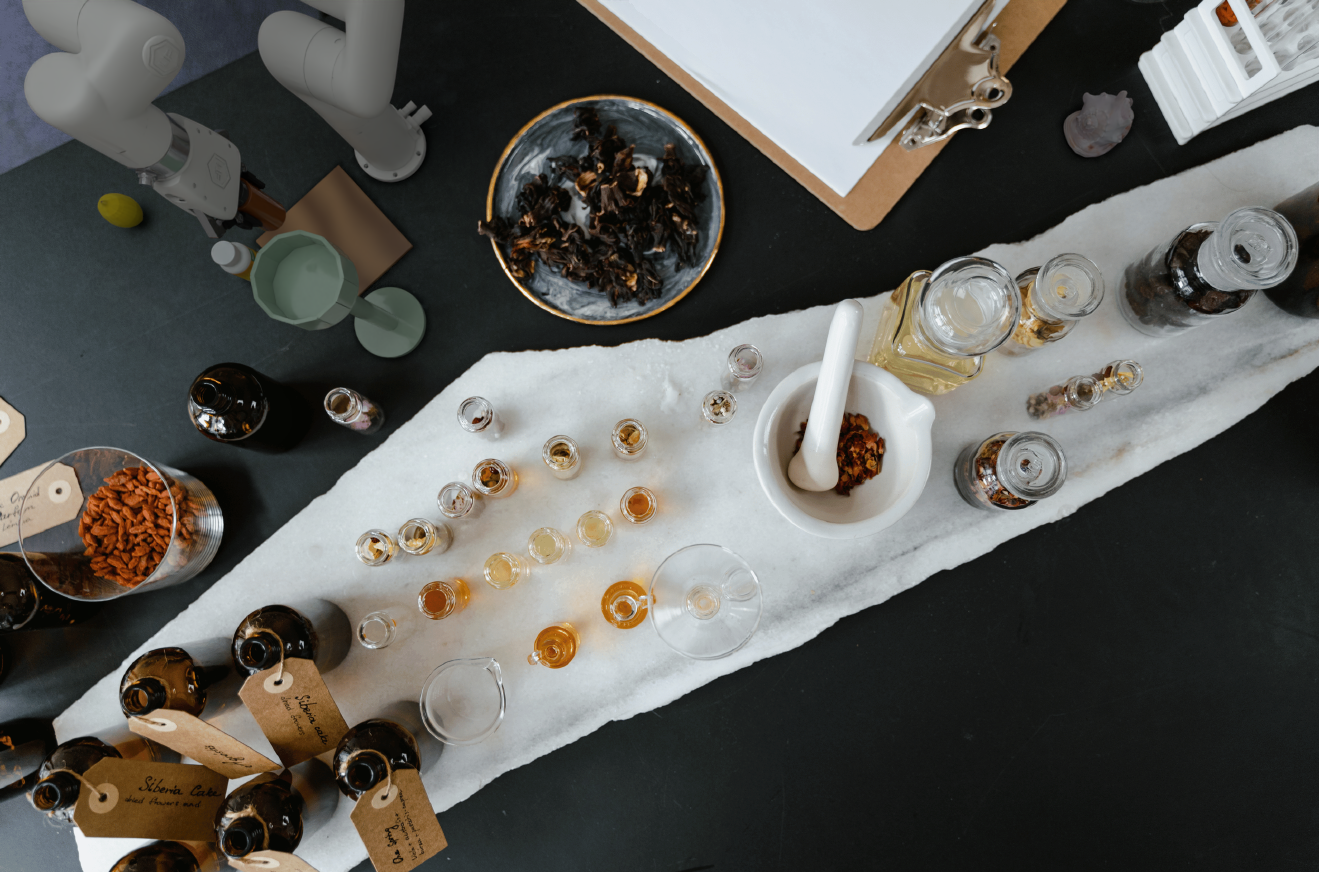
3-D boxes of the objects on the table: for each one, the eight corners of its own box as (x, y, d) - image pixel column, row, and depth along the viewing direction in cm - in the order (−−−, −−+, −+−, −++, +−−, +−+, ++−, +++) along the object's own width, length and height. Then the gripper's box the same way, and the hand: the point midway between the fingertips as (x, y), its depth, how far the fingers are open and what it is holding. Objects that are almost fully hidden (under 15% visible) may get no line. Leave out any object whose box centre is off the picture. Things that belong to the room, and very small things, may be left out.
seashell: (1050, 116, 115) (1083, 85, 106) (1112, 84, 115) (1150, 51, 105) (1078, 167, 114) (1114, 140, 105) (1141, 135, 114) (1182, 106, 105)
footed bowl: (394, 274, 117) (300, 211, 88) (440, 324, 117) (361, 279, 88) (342, 321, 117) (232, 274, 88) (388, 372, 117) (292, 342, 88)
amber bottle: (271, 193, 98) (229, 165, 89) (292, 216, 98) (252, 190, 89) (247, 214, 98) (203, 189, 89) (268, 238, 98) (226, 214, 89)
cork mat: (340, 166, 118) (338, 164, 118) (413, 246, 117) (412, 245, 117) (257, 241, 118) (255, 240, 118) (330, 323, 117) (328, 322, 117)
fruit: (131, 199, 119) (92, 180, 111) (159, 209, 119) (121, 191, 111) (119, 227, 119) (79, 210, 111) (147, 238, 119) (109, 222, 111)
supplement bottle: (238, 267, 118) (199, 250, 109) (262, 248, 118) (225, 229, 109) (257, 290, 118) (219, 275, 108) (280, 271, 118) (245, 254, 108)
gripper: (179, 217, 76) (276, 265, 94) (189, 72, 77) (283, 147, 95) (115, 215, 76) (224, 263, 94) (126, 71, 77) (232, 146, 95)
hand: (253, 205), depth 94 cm, fingers closed on amber bottle, 4 cm apart
